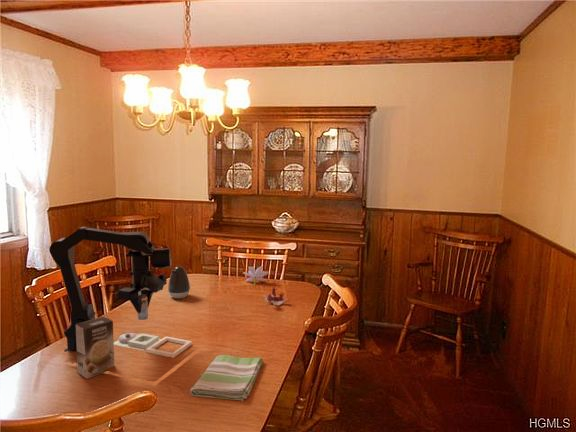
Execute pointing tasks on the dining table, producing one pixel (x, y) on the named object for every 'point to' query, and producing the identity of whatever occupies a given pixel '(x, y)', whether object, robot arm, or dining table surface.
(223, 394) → the dish towel
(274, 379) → the dining table surface
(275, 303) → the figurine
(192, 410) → the dining table surface
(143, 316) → the pin
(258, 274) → the water lily
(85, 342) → the coffee box
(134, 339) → the block
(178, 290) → the dark grey egg shape
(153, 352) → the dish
